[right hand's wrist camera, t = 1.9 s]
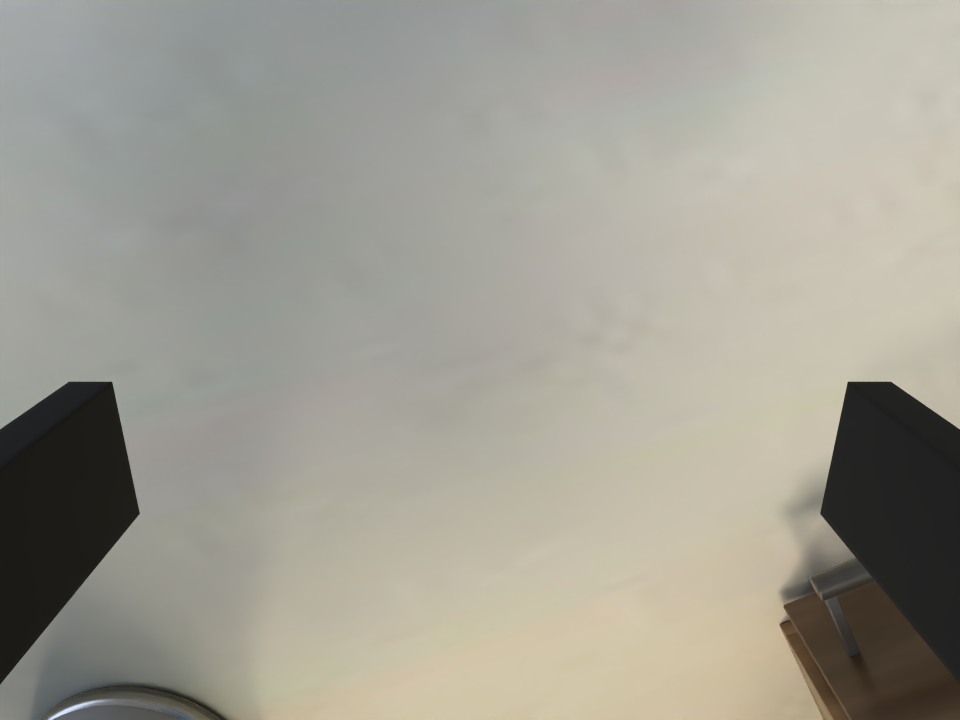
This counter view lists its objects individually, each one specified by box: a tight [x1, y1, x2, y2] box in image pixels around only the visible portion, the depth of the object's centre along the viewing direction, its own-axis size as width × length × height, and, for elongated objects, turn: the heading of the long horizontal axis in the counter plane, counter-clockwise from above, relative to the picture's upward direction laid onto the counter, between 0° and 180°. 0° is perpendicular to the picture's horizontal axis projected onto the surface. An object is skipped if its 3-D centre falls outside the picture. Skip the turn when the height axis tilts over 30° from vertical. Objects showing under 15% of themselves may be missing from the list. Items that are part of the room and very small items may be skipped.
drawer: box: [784, 558, 960, 720], centre depth 37 cm, size 21×9×10 cm, turn 28°
